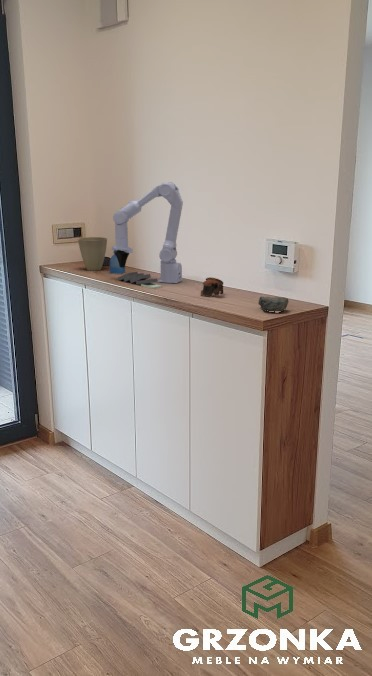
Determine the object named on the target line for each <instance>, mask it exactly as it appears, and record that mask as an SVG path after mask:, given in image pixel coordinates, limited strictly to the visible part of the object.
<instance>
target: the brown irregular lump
mask: <svg viewBox="0 0 372 676" xmlns="http://www.w3.org/2000/svg"><path fill="white" fill-rule="evenodd" d="M202 287H203V289H202V290H200V296H201V297H203V296H205V297H209V298H211V297H210V296H212V297H213V294H214V296H219V295H223V294H224V281H223V280H221V279H219V278H216V277H211V276H210V277H206V278H205V281H204V282H203V283H202Z"/></svg>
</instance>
